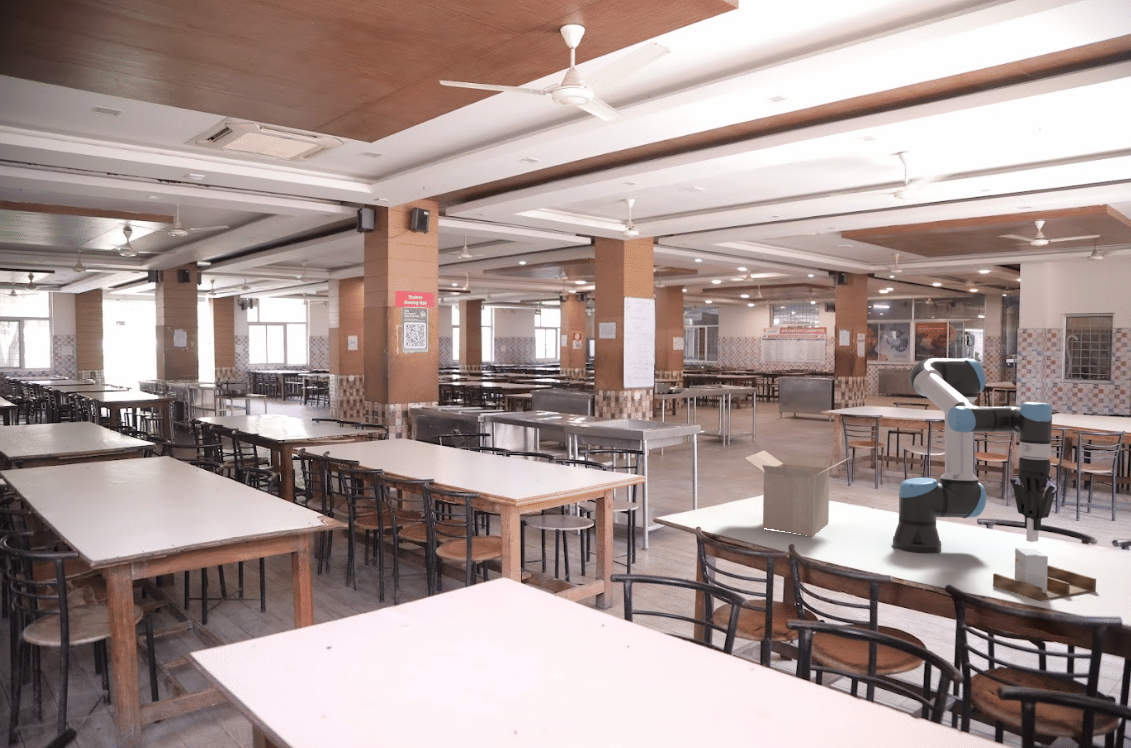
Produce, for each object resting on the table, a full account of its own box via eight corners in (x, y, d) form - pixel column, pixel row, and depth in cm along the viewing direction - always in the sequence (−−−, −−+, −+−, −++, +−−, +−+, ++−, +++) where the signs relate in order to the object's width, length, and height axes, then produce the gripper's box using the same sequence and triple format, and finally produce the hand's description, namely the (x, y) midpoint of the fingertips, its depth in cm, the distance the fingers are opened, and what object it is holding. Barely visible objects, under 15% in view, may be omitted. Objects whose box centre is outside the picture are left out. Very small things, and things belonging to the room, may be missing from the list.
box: (850, 524, 290) (852, 456, 289) (831, 542, 265) (833, 467, 263) (765, 513, 308) (766, 449, 307) (740, 529, 282) (741, 458, 281)
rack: (992, 585, 218) (993, 573, 218) (1047, 576, 226) (1048, 565, 226) (1039, 601, 205) (1039, 588, 205) (1095, 591, 213) (1096, 578, 213)
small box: (1047, 594, 209) (1048, 556, 209) (1025, 592, 210) (1026, 555, 210) (1035, 584, 217) (1036, 548, 217) (1013, 583, 218) (1015, 547, 218)
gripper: (1003, 455, 217) (1001, 536, 217) (1047, 461, 204) (1045, 548, 205) (1022, 453, 219) (1020, 534, 220) (1066, 460, 207) (1064, 545, 208)
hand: (1032, 540), depth 213 cm, fingers closed
